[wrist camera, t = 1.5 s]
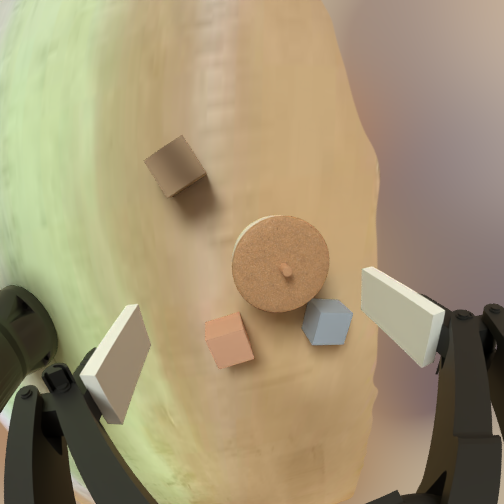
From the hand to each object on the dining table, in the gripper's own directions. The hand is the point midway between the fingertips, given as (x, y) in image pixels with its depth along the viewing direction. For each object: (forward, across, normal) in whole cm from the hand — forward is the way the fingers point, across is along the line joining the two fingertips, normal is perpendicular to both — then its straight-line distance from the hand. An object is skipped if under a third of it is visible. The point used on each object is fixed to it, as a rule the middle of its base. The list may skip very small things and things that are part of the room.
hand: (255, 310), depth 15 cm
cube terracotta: (+21, -3, -13) cm, 25 cm away
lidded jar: (+21, +4, -2) cm, 22 cm away
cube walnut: (+21, -6, +10) cm, 24 cm away
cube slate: (+22, +11, -13) cm, 28 cm away
